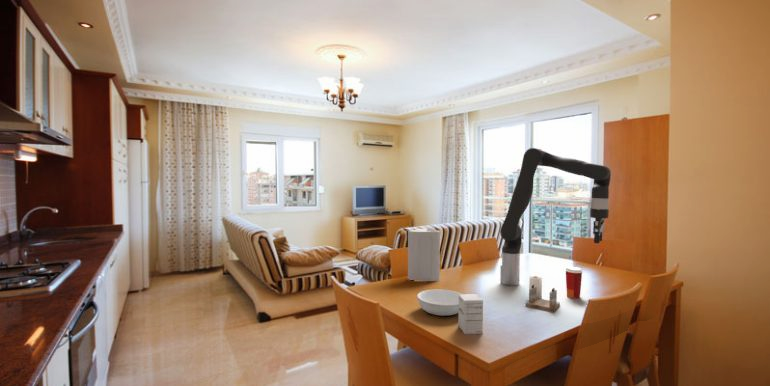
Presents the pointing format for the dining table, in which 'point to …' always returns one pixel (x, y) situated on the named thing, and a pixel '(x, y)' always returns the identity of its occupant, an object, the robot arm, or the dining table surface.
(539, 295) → the roll
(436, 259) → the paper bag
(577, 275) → the paper cup
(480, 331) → the supplement box
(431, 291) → the serving bowl
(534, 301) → the holder
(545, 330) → the dining table surface
